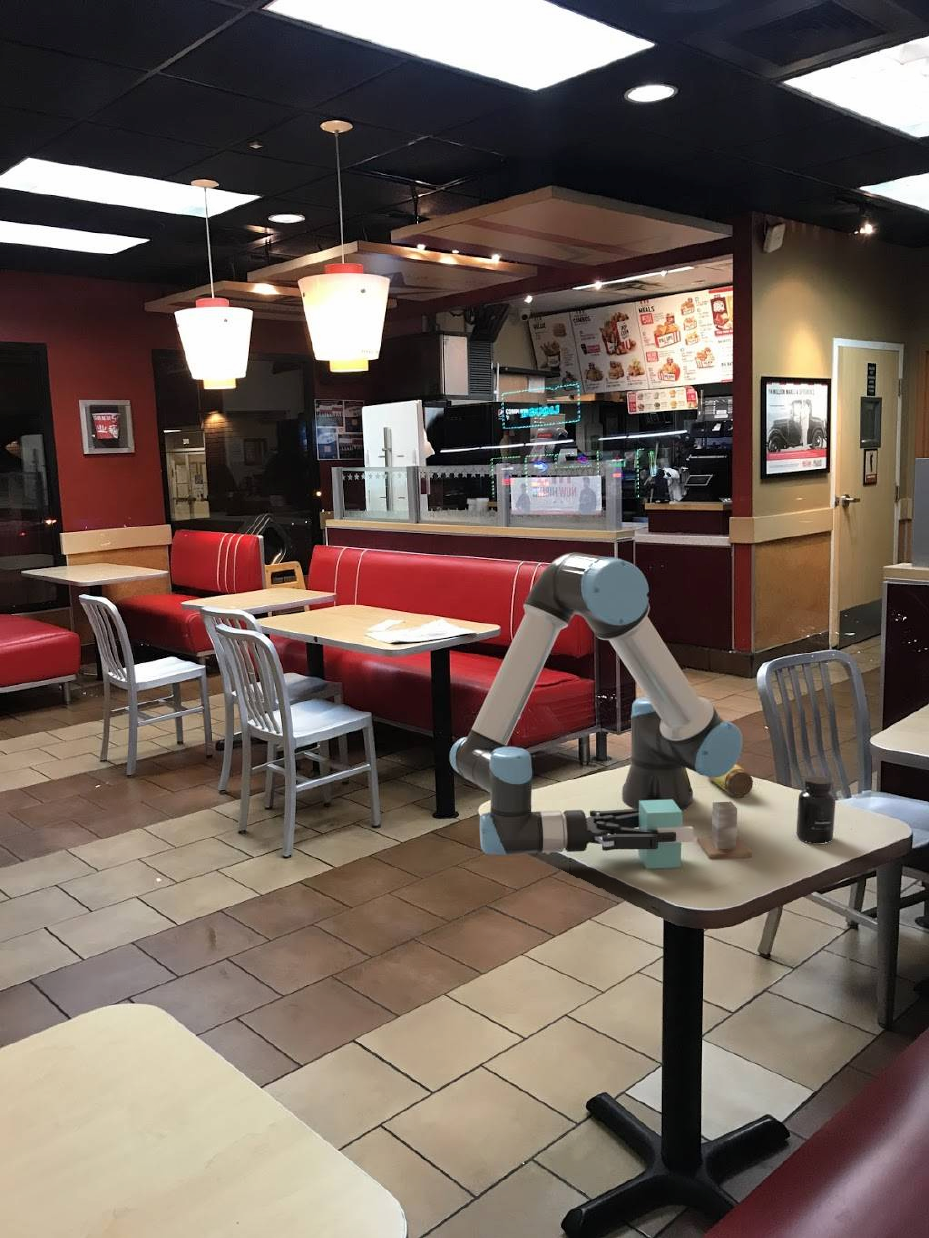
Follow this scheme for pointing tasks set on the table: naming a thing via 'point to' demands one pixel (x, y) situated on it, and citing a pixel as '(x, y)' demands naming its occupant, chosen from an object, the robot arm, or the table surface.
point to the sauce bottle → (735, 781)
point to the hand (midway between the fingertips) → (686, 826)
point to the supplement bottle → (816, 811)
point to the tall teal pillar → (652, 818)
